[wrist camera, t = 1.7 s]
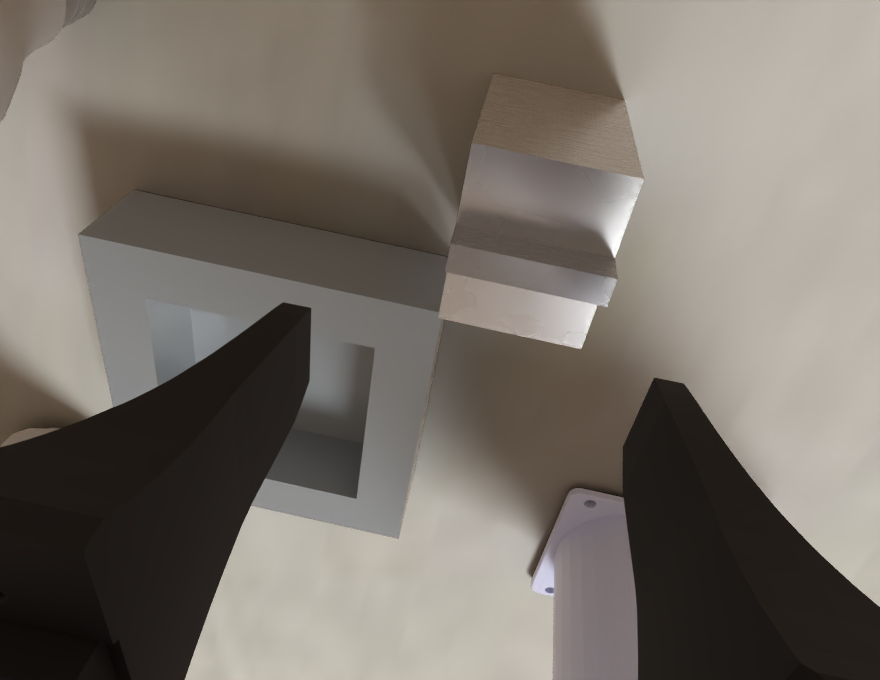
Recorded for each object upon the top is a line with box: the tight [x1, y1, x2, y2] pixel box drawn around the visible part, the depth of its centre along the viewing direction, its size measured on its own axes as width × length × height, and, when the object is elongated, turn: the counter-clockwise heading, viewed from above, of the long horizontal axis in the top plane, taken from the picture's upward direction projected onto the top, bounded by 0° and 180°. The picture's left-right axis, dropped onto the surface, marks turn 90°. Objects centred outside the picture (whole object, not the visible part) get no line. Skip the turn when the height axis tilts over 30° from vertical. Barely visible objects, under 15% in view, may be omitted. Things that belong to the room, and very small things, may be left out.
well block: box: [78, 190, 448, 539], centre depth 26 cm, size 12×12×4 cm
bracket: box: [438, 73, 644, 349], centre depth 19 cm, size 4×5×7 cm
